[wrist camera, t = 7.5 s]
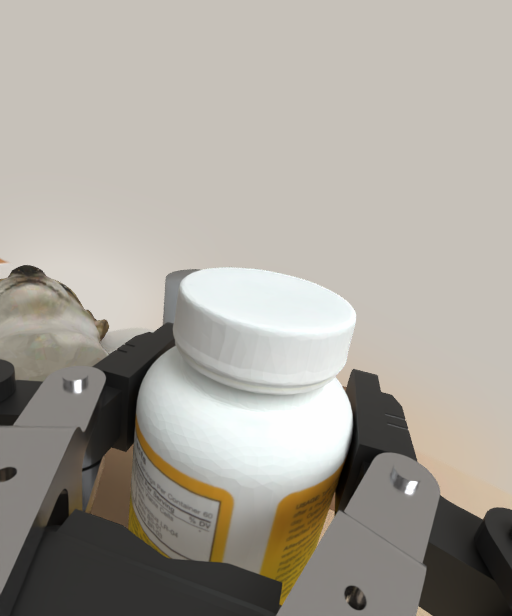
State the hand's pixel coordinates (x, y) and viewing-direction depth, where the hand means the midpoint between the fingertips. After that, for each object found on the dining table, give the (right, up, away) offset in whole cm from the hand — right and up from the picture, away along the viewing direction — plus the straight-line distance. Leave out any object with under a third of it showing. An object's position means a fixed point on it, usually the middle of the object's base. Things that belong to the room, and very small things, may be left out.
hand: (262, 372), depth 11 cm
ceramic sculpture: (-15, -3, +12) cm, 19 cm away
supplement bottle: (-2, -7, 0) cm, 7 cm away
